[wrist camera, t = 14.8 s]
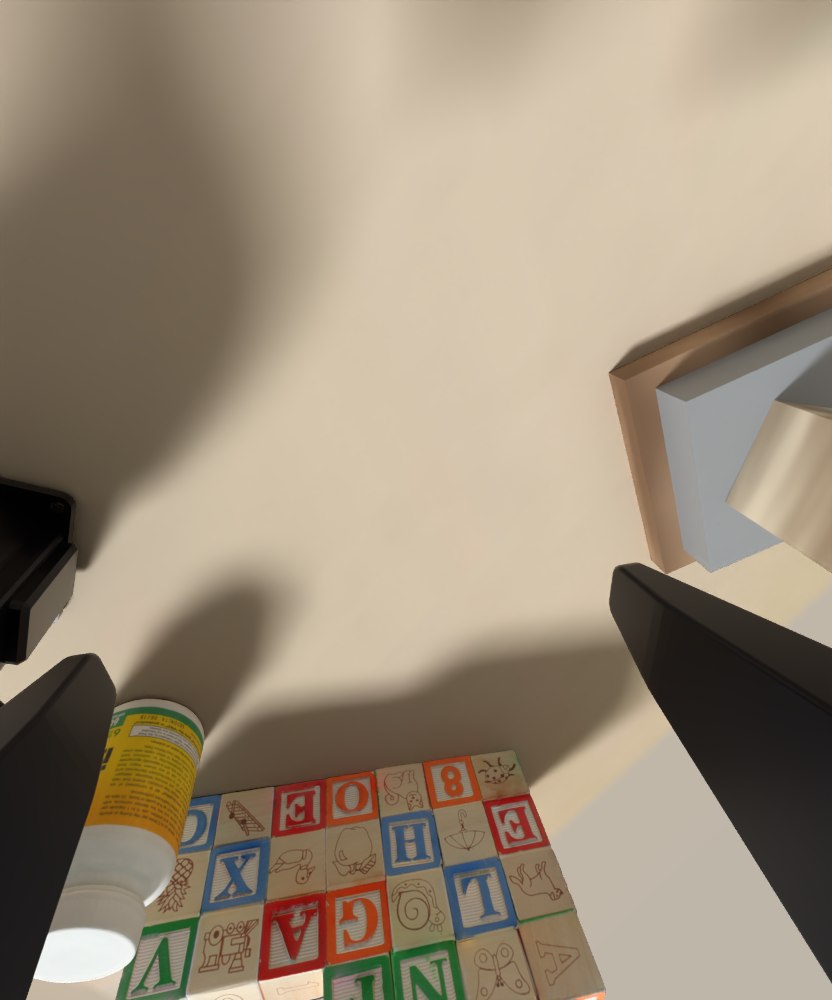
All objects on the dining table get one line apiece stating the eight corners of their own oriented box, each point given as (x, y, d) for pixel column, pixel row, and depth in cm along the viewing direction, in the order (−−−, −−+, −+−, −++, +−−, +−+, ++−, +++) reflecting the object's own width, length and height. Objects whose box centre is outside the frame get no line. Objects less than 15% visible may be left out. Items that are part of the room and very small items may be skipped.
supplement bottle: (177, 774, 28) (117, 999, 20) (78, 746, 26) (-37, 986, 18) (225, 714, 27) (181, 931, 18) (124, 680, 25) (22, 908, 16)
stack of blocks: (188, 857, 32) (121, 1169, 21) (166, 798, 29) (76, 1123, 19) (507, 804, 35) (588, 1052, 25) (516, 745, 32) (612, 998, 22)
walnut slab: (644, 552, 27) (666, 574, 26) (600, 369, 22) (624, 380, 20) (836, 467, 27) (871, 483, 25) (838, 257, 21) (884, 259, 20)
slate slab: (683, 549, 25) (710, 573, 23) (655, 388, 21) (685, 402, 19) (855, 474, 24) (896, 492, 23) (863, 293, 20) (914, 298, 18)
